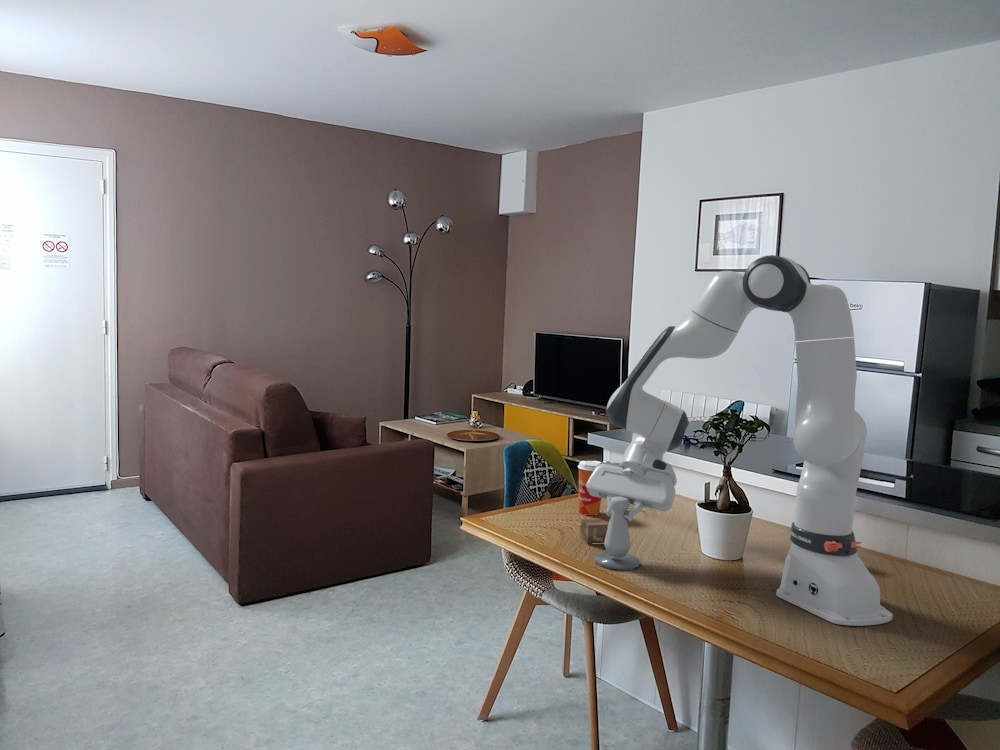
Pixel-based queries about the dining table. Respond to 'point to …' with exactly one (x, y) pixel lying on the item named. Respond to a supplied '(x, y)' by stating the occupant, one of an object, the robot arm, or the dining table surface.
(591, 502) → the paper cup
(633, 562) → the coaster
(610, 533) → the salt shaker
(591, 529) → the cube
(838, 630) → the dining table surface
